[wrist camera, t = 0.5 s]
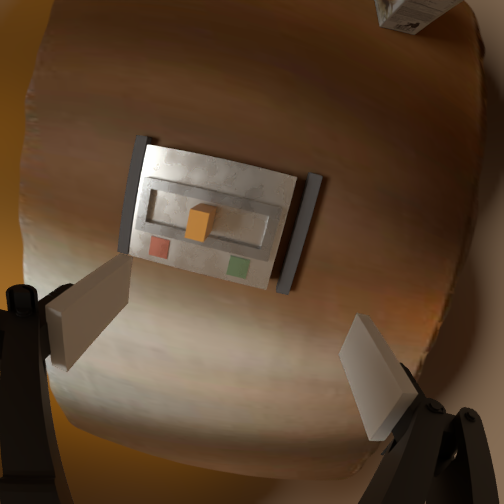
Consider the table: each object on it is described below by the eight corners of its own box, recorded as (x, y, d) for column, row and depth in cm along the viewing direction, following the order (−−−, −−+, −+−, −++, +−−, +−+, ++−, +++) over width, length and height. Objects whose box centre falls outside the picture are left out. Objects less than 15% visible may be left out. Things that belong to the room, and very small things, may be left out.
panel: (158, 146, 36) (144, 143, 32) (293, 176, 37) (298, 177, 32) (140, 246, 40) (125, 256, 35) (265, 278, 41) (266, 293, 36)
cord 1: (141, 136, 36) (136, 135, 34) (151, 137, 36) (147, 136, 35) (122, 248, 40) (117, 251, 39) (131, 251, 40) (127, 254, 39)
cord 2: (308, 172, 37) (310, 172, 35) (320, 175, 37) (322, 176, 35) (276, 287, 41) (276, 292, 40) (287, 290, 41) (288, 294, 40)
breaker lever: (200, 203, 34) (190, 208, 29) (216, 207, 34) (209, 213, 29) (194, 227, 35) (184, 237, 30) (211, 231, 35) (203, 242, 30)
